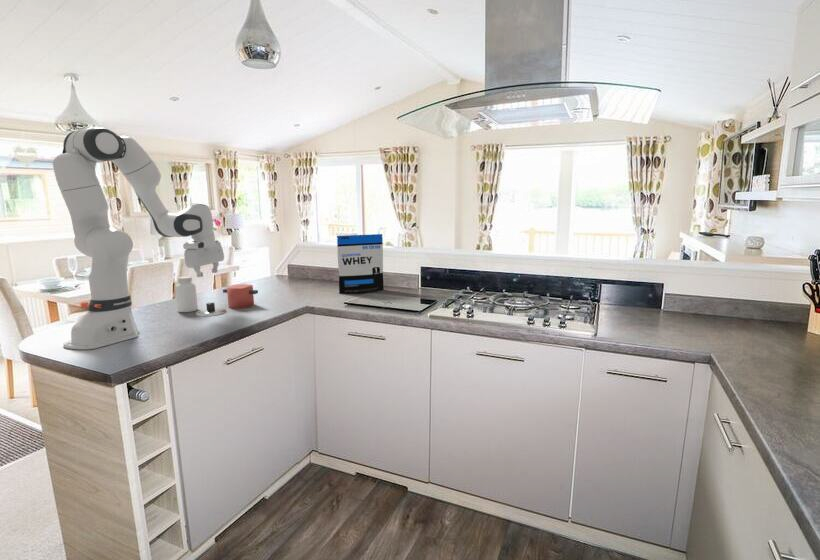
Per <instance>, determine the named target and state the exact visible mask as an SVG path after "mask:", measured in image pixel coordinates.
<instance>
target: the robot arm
mask: <svg viewBox="0 0 820 560" xmlns="http://www.w3.org/2000/svg"><path fill="white" fill-rule="evenodd" d="M62 147H63V149H62V152H61V153H60V154H58V155H57V156H55V157H54V159H53V160H52V166H53V167H52V168H53V173H54V176H55V180H56V184H57V186H58V188H59V191H60V193H61V195H62V198H63V200H64V202H65V205H66V207H67V211H68V213H69V215H70V220H71V225H72V231H73V234H74V240H73V241H74V246H75V248H76V249H77V250H78V251H79V252H80V253H82V254H83V255H85V256H87V257H89V258H92V259H91V270H90V273H89V275H88V283H89V289H90V297H91V298H90V301H89V302H85V301H82V302H80V304H79V307H80V308H82V309H87V312H85V314H83V316H82V317H81V318H80V319H79V320H78V321H77V322H76V323H75V324H73V326H72V328H71V331H70V340H68V341H66V342H63V347H64V348H66V349H69V350H72V349H73V350H93V349H94V350H95V349H98V348H99V349H100V348H102V347H106V346H110V345H114V344H116V343H119V342H124V341H127V340H130V339H134V338H138V337H139V333H140V330H139V328H138V327H137V323H136V322H135V318H134V314H133V311H132V305H133V303H132V297H131V295H130V292H129V283H128V274H127V272H128V262H129V256H130V254H131V252H132V250H133V246H134V243H133V240H132V237H131V236H130V235H129V233H127V232H125V231H124V230H121V229H120V228H116V227H111V226H110V223H109V222H110V221H109V215H108V214H109V213H108V212H109V204H108V201H107V198H106V196H105V194H104V191H103V189H102V186H101V184H100V181H99V179H98V176H97V174H96V166H97V164H98V163H99V164H100V163H104V162H112V163H113V164H114V165H115V166H116V167H117V169H118V170H119V171H120V172H121V174H122V175H123V176H124V178H125V179H126V180H127V181H128V183H129V184H130V185H131V187H132V189H133V191H134V193H135V194H136V196H137V197H138V200H140V202H141V204H142V205H143V207H144V209H146V211H147V212H148V214H149V216H150V217H151V219H152V222H153V226H154V228H155V231H156V232H157V233H158V235H160V236H162V237H164V238H174V237H175V238H187V237H191V239H189V240H188V241H186V242H184V243H183V245H182V247H183V249H184V253H183V254H184V263H185V266H186V267H187V268H189V269H193V271H194V272H195V273H196V277H197V278H201V277H204V275H203V274H204V272H202V271H201V270H200V269H201V267H203V266H207V265H210V264H212V268H211V273H212V274H216V273H218V272H219V271H218V268H219V265H220V262H223V261H224V260H225V253H224V249H223V246H222V243H221V242H220V241H219V240H218V239H217V240H216V239H215V236H216V235H215V233H214V220H213V214H212V210H211V208H210V207H209V206H208V205H206V204H202V203H190V204H189V205H188V206H187V207H186V208H184V209H183V210H181V211H179V212H171V211H170V210H168V209H167V208H166V207H165V205H164V203H163V202H162V200H161V198H160V197H159V195H158V194H157V190H156V188H157V186H158V185H159V184H160V182H161V177H162V176H161V175H162V174H161V172H160V169H159V168H158V167H157V165H156V163H155V162H154V160H153V159H152V158H151V157H150V155H149V154H148V153H147V152H146V151H145V149H144V148H143V147H142V146H141V144H140V143H138V142H137V140H135V139H134V138H133V137H131V136H126V135H122V136H121V135H117V133H115V132H114V131H112V130H111V129H108V128H106V127H100V126H96V127H84V128H80V129H78V130H74V131H71V132H69V133H68V134H67V135H66V136H65V138H64V141H63V146H62Z"/></svg>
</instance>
